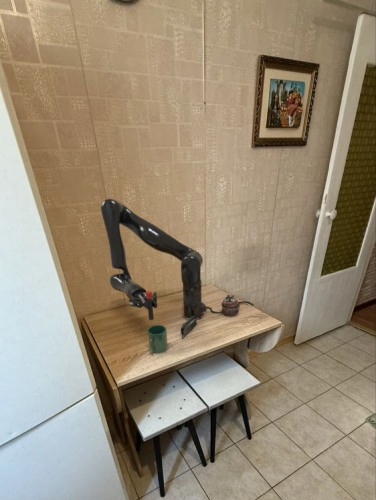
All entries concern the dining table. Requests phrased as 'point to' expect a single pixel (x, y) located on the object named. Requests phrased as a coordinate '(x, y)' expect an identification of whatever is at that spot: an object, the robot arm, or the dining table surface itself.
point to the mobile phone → (188, 325)
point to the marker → (149, 300)
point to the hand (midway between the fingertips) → (153, 307)
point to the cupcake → (230, 306)
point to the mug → (157, 338)
